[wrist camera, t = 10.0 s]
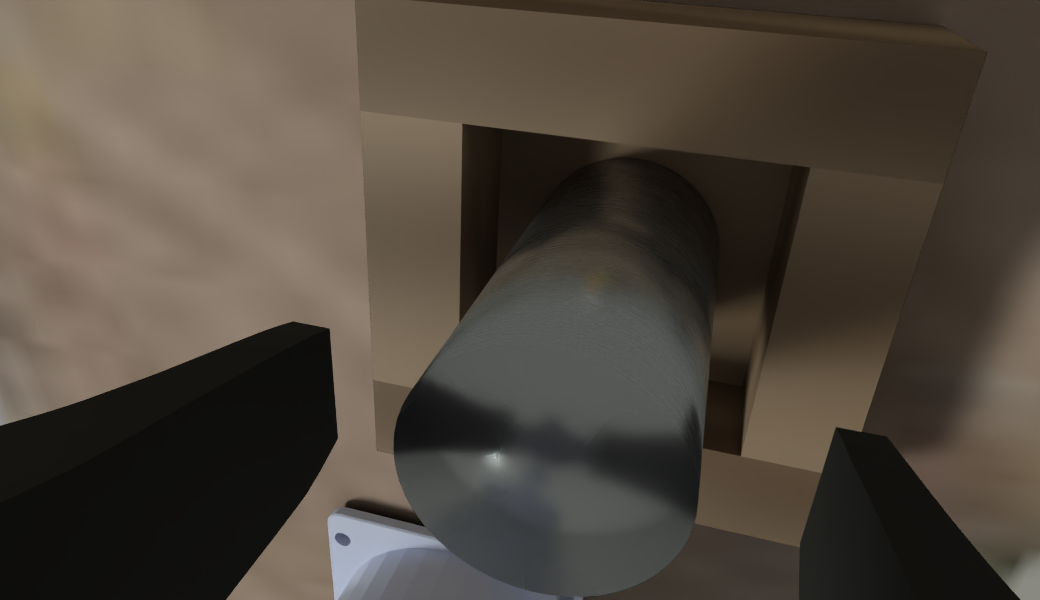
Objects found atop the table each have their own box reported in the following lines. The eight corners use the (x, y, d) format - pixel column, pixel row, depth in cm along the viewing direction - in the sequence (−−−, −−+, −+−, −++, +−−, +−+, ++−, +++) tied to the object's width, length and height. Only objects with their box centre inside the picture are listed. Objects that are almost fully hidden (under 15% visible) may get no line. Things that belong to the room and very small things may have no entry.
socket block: (811, 462, 18) (821, 552, 16) (424, 382, 20) (376, 450, 18) (942, 25, 13) (987, 52, 11) (420, -18, 16) (354, -5, 13)
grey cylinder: (703, 340, 17) (673, 628, 10) (532, 311, 18) (397, 557, 11) (734, 170, 15) (725, 379, 8) (542, 146, 16) (389, 318, 9)
